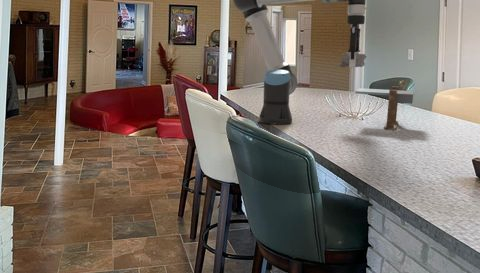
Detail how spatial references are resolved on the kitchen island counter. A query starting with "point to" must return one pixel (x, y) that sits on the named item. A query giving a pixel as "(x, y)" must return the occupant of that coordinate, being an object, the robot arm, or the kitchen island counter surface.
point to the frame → (392, 110)
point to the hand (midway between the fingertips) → (353, 66)
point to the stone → (359, 60)
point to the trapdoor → (401, 95)
